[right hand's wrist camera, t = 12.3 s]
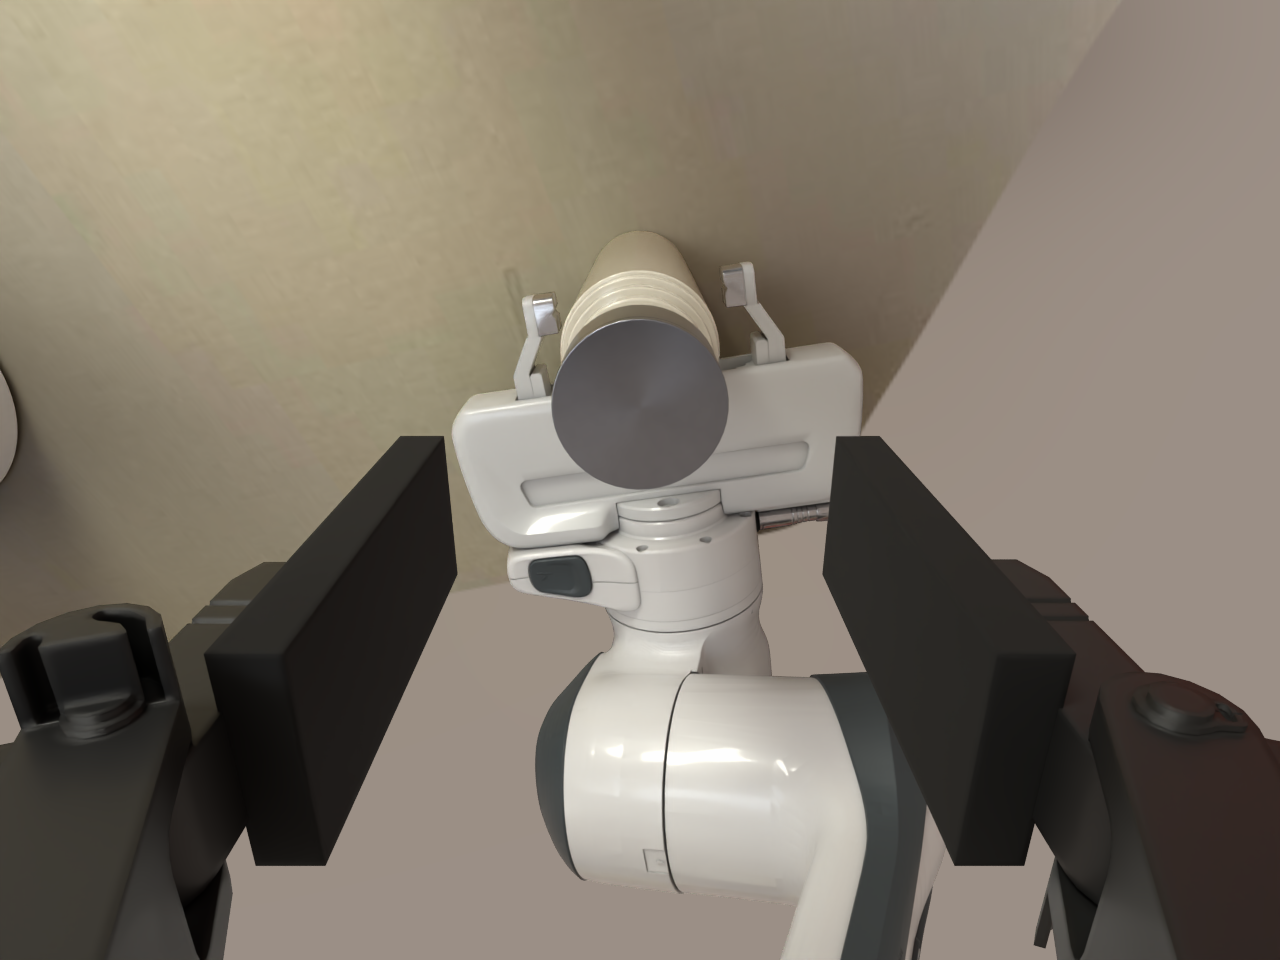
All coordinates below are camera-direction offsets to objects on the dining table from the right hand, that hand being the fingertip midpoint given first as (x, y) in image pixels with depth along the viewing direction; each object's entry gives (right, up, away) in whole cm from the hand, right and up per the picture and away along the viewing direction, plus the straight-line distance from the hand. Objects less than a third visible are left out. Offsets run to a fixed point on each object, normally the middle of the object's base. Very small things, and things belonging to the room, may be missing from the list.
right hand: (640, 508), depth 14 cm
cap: (0, +2, +6) cm, 7 cm away
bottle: (0, +11, +29) cm, 31 cm away
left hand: (0, +10, +23) cm, 25 cm away
